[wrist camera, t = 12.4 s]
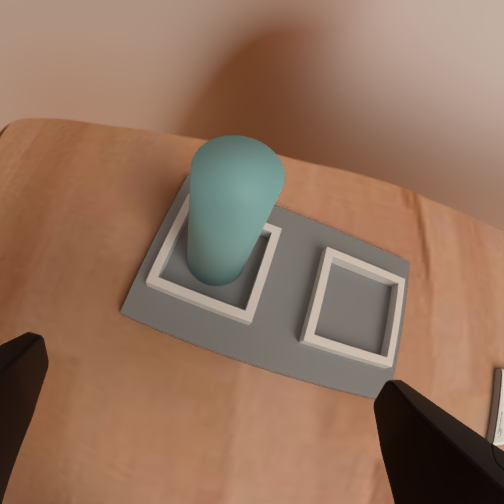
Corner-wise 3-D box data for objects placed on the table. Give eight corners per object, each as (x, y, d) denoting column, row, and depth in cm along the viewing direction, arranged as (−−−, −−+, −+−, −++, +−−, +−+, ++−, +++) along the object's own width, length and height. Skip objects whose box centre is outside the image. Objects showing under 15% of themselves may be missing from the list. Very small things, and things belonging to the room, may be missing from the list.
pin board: (405, 264, 26) (416, 257, 25) (383, 401, 21) (395, 401, 20) (188, 177, 25) (189, 165, 24) (121, 314, 20) (116, 309, 19)
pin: (206, 296, 21) (222, 226, 12) (176, 248, 22) (174, 153, 13) (255, 268, 23) (302, 187, 14) (225, 223, 24) (251, 125, 15)
